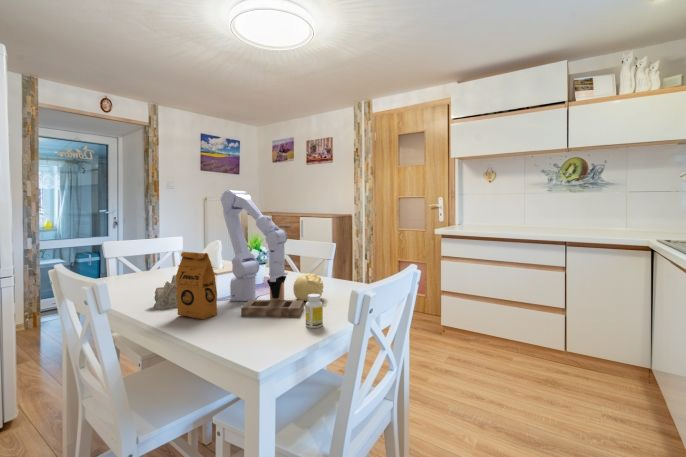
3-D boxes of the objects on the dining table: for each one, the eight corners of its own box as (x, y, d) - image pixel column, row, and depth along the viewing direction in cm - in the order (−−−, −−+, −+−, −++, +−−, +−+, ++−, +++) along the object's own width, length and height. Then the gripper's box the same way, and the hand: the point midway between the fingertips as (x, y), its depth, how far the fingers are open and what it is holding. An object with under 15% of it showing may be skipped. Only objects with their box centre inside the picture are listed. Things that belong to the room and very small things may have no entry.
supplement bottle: (325, 323, 114) (325, 293, 113) (318, 329, 109) (318, 298, 108) (309, 321, 116) (309, 292, 115) (302, 327, 111) (302, 296, 110)
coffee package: (200, 322, 115) (198, 255, 113) (172, 317, 120) (170, 252, 118) (222, 313, 124) (221, 251, 122) (196, 309, 129) (194, 249, 127)
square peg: (270, 305, 134) (269, 284, 134) (272, 302, 139) (272, 281, 138) (281, 305, 134) (281, 284, 133) (284, 302, 138) (284, 282, 138)
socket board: (241, 316, 121) (241, 307, 121) (249, 307, 131) (249, 299, 131) (299, 317, 120) (299, 308, 120) (303, 308, 130) (303, 300, 130)
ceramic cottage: (193, 294, 149) (190, 259, 147) (201, 305, 136) (198, 267, 133) (151, 302, 141) (147, 265, 139) (155, 314, 127) (151, 274, 125)
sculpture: (322, 303, 137) (322, 276, 136) (291, 303, 137) (291, 276, 136) (324, 296, 148) (324, 270, 147) (295, 295, 148) (295, 270, 147)
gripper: (283, 264, 128) (283, 301, 129) (290, 258, 142) (291, 291, 143) (264, 264, 128) (264, 301, 129) (273, 258, 142) (273, 291, 143)
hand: (277, 296), depth 136 cm, fingers closed on square peg, 4 cm apart
